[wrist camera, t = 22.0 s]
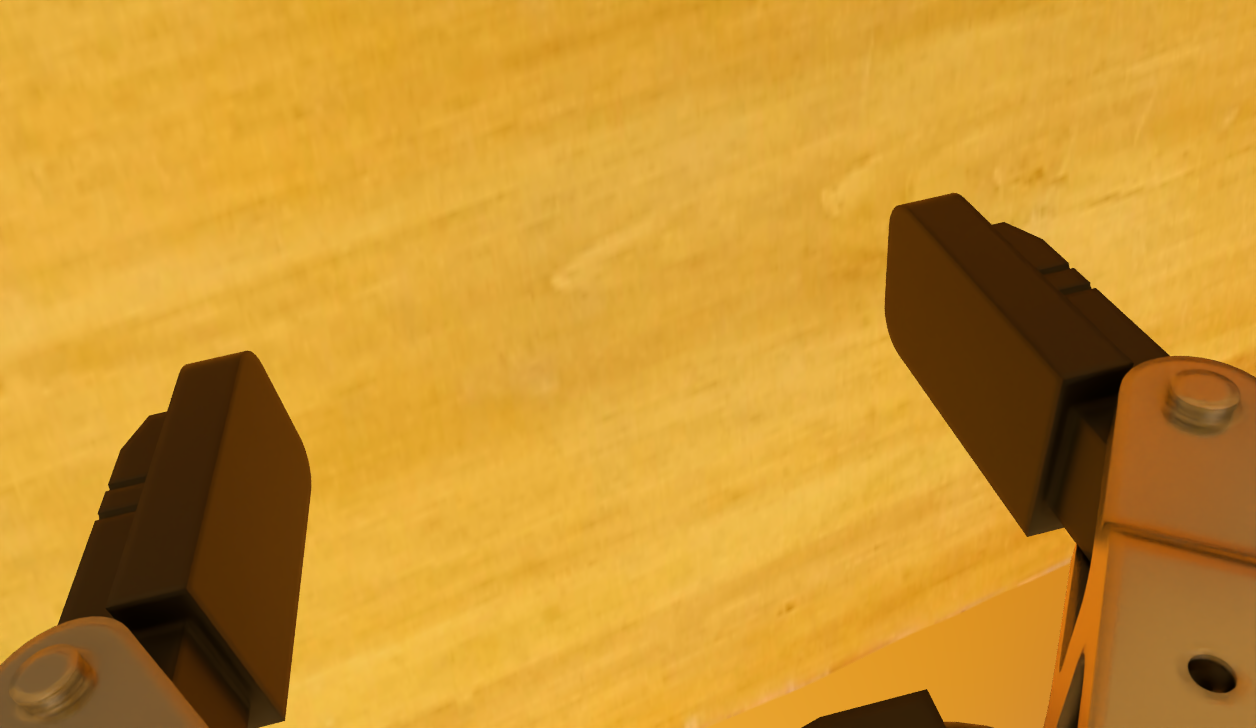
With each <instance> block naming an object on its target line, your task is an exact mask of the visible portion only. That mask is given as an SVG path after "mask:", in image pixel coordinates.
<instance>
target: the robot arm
mask: <svg viewBox="0 0 1256 728" xmlns="http://www.w3.org/2000/svg"><path fill="white" fill-rule="evenodd" d="M885 317H886V323H887V328H888V332H889V335H890V338H891V341H892V343H893V345H894V347H895V349H896V351H897V353H898V354H899V356H900V357H901V359H902V360H903V361H904V363H905V364H906V366H907V367H908V368H909V370H910V371H911V373H912V374H913V376H914V377H915V378H916V380H917V381H918V383H919V384H920V386H921V387H922V388H923V390H924V391H925V393H926V394H927V395H928V397H929V398H930V400H931V401H932V403H933V404H934V405H935V407H936V408H937V410H938V411H939V412H940V414H941V415H942V417H943V418H944V420H945V421H946V422H947V424H948V425H949V427H950V428H951V429H952V431H953V432H954V434H955V435H956V437H957V438H958V439H959V441H960V442H961V444H962V445H963V446H964V448H965V449H966V451H967V452H968V454H969V455H970V456H971V458H972V459H973V461H974V462H975V463H976V465H977V466H978V468H979V469H980V471H981V472H982V473H983V475H984V476H985V478H986V479H987V481H988V482H989V483H990V485H991V486H992V488H993V489H994V490H995V492H996V493H997V495H998V496H999V498H1000V499H1001V500H1002V502H1003V503H1004V505H1005V506H1006V507H1007V509H1008V510H1009V512H1010V513H1011V515H1012V516H1013V517H1014V519H1015V520H1016V522H1017V523H1018V524H1019V526H1020V527H1021V529H1022V530H1023V532H1024V533H1025V534H1026V536H1027V537H1029V536H1032V535H1036V534H1040V533H1044V532H1048V531H1052V530H1056V529H1060V528H1065V529H1066V530H1067V532H1068V533H1069V534H1070V536H1071V537H1072V538H1073V540H1074V541H1075V542H1076V544H1075V548H1074V551H1073V555H1072V558H1071V563H1070V570H1069V577H1068V583H1067V591H1066V596H1065V603H1064V610H1063V617H1062V623H1061V630H1060V636H1059V643H1058V650H1057V656H1056V663H1055V669H1054V676H1053V682H1052V689H1051V695H1050V700H1049V705H1048V710H1047V715H1046V719H1045V723H1044V727H1043V728H1256V378H1255V377H1254V376H1252V375H1250V374H1248V373H1247V372H1245V371H1243V370H1241V369H1238V368H1236V367H1233V366H1231V365H1228V364H1225V363H1222V362H1218V361H1215V360H1210V359H1205V358H1199V357H1190V356H1169V355H1168V354H1167V353H1166V352H1165V351H1164V350H1163V349H1162V348H1161V347H1160V346H1159V345H1157V344H1156V343H1155V342H1154V341H1153V340H1152V339H1151V338H1150V337H1149V336H1148V335H1147V334H1145V333H1144V332H1143V331H1142V330H1141V329H1140V328H1139V327H1138V326H1137V325H1136V324H1135V323H1133V322H1132V321H1131V320H1130V319H1129V318H1128V317H1127V316H1126V315H1125V314H1124V313H1123V312H1121V311H1120V310H1119V309H1118V308H1117V307H1116V306H1115V305H1114V304H1113V303H1112V302H1111V301H1109V300H1108V299H1107V298H1106V297H1105V296H1104V295H1103V294H1102V293H1101V292H1100V291H1099V290H1097V289H1096V288H1093V289H1091V287H1090V282H1089V281H1088V280H1086V279H1085V278H1084V277H1083V276H1082V275H1081V274H1080V273H1079V272H1078V271H1077V270H1076V269H1074V268H1072V269H1070V268H1069V263H1068V262H1067V261H1066V260H1065V259H1064V258H1062V257H1061V256H1060V255H1059V254H1058V253H1057V252H1056V251H1055V250H1054V249H1053V248H1052V247H1050V246H1049V245H1048V244H1047V243H1046V242H1045V241H1044V240H1043V239H1041V238H1039V237H1036V236H1034V235H1032V234H1030V233H1027V232H1025V231H1023V230H1021V229H1019V228H1016V227H1014V226H1012V225H1010V224H1007V223H1005V222H1002V223H998V224H993V225H991V224H990V223H989V222H988V221H987V220H986V219H985V218H984V217H983V216H982V215H981V214H980V213H979V212H978V211H977V210H976V209H975V208H974V207H973V206H972V205H971V204H970V203H969V202H968V201H967V200H966V199H965V198H964V197H962V196H961V195H959V194H957V193H951V194H947V195H942V196H938V197H933V198H929V199H925V200H920V201H916V202H911V203H907V204H902V205H898V206H896V207H895V208H894V209H893V211H892V213H891V216H890V222H889V236H888V254H887V272H886V290H885ZM108 485H109V488H110V490H109V491H106V492H105V495H104V498H103V500H102V503H101V506H100V509H99V511H98V515H99V520H97V521H95V523H94V525H93V528H92V531H91V534H90V537H89V539H88V542H87V545H86V548H85V550H84V553H83V556H82V559H81V562H80V564H79V567H78V570H77V573H76V576H75V578H74V581H73V584H72V587H71V589H70V592H69V595H68V598H67V601H66V603H65V606H64V609H63V612H62V615H61V617H60V620H59V623H58V625H57V626H55V627H53V628H51V629H49V630H47V631H45V632H43V633H41V634H39V635H38V636H36V637H34V638H33V639H31V640H30V641H28V642H27V643H25V644H24V645H23V646H22V647H20V648H19V649H18V650H16V651H15V652H14V653H13V654H12V655H11V656H10V657H9V658H7V659H6V660H5V661H4V662H3V663H2V664H1V665H0V728H259V727H263V726H267V725H270V724H274V723H278V722H282V721H285V715H286V706H287V698H288V689H289V680H290V671H291V662H292V654H293V645H294V636H295V627H296V618H297V610H298V601H299V592H300V583H301V574H302V566H303V557H304V548H305V539H306V530H307V522H308V513H309V504H310V495H311V473H310V467H309V462H308V458H307V454H306V451H305V448H304V445H303V443H302V441H301V438H300V436H299V434H298V433H297V431H296V429H295V427H294V425H293V423H292V421H291V419H290V417H289V415H288V413H287V411H286V409H285V408H284V406H283V404H282V402H281V400H280V398H279V396H278V394H277V392H276V390H275V388H274V386H273V384H272V383H271V381H270V379H269V377H268V375H267V373H266V371H265V369H264V367H263V365H262V364H261V362H260V360H259V359H258V358H257V356H256V355H255V354H254V353H252V352H251V351H244V352H239V353H235V354H230V355H226V356H222V357H217V358H213V359H208V360H204V361H199V362H195V363H191V364H186V365H185V366H183V367H182V369H181V371H180V373H179V376H178V379H177V382H176V385H175V388H174V392H173V395H172V398H171V401H170V404H169V407H168V411H167V412H163V413H159V414H154V415H150V416H149V417H148V418H147V419H146V420H145V421H144V423H143V424H142V425H141V426H140V427H139V428H138V430H137V431H136V432H135V433H134V434H133V436H132V437H131V438H130V439H129V440H128V442H127V443H126V444H125V445H124V446H123V448H122V449H121V450H120V453H119V456H118V459H117V461H116V464H115V467H114V470H113V472H112V475H111V478H110V481H109V484H108ZM802 728H993V727H988V726H984V725H975V724H967V723H960V722H943V720H942V718H941V716H940V714H939V712H938V710H937V708H936V706H935V704H934V702H933V700H932V698H931V696H930V694H929V692H928V691H927V689H926V690H922V691H918V692H915V693H911V694H907V695H903V696H899V697H895V698H892V699H888V700H884V701H880V702H876V703H873V704H869V705H865V706H861V707H858V708H853V709H850V710H846V711H842V712H838V713H834V714H831V715H827V716H823V717H819V718H818V719H816V720H814V721H812V722H811V723H809V724H807V725H806V726H804V727H802Z"/></svg>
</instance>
